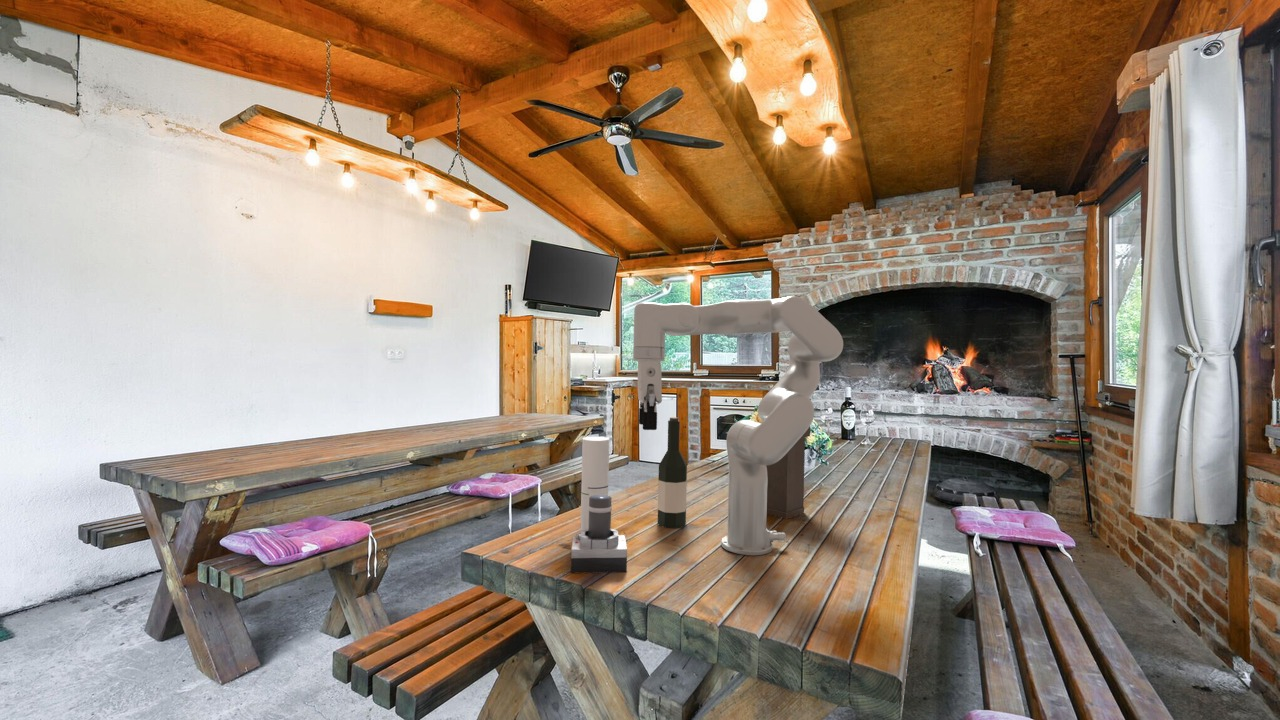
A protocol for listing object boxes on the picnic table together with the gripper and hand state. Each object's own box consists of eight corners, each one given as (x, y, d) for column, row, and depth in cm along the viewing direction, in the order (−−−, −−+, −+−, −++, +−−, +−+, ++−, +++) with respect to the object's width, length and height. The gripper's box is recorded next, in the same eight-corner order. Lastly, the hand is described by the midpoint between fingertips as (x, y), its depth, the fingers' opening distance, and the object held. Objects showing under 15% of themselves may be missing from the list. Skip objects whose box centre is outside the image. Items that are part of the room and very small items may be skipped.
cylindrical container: (603, 537, 136) (605, 441, 136) (576, 535, 138) (578, 439, 138) (610, 529, 143) (612, 437, 143) (585, 527, 145) (587, 436, 145)
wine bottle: (691, 522, 151) (693, 417, 151) (677, 530, 144) (680, 420, 144) (666, 517, 155) (668, 415, 155) (651, 524, 148) (653, 417, 148)
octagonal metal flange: (624, 556, 124) (624, 526, 124) (626, 572, 115) (627, 540, 115) (572, 557, 123) (573, 527, 123) (571, 572, 114) (571, 540, 114)
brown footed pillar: (810, 510, 166) (812, 399, 166) (786, 519, 156) (789, 401, 156) (758, 498, 180) (760, 395, 180) (733, 505, 170) (735, 396, 170)
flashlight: (594, 536, 122) (595, 493, 122) (614, 540, 120) (615, 496, 120) (583, 543, 118) (584, 498, 118) (603, 547, 115) (605, 501, 115)
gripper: (669, 355, 117) (668, 432, 118) (659, 355, 135) (658, 422, 135) (636, 354, 117) (634, 431, 117) (630, 355, 134) (629, 422, 134)
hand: (647, 426), depth 126 cm, fingers open, 9 cm apart
